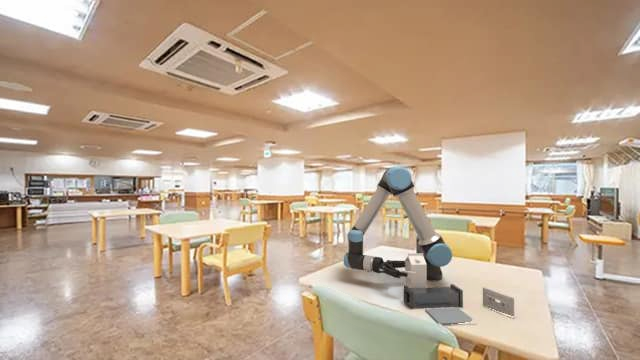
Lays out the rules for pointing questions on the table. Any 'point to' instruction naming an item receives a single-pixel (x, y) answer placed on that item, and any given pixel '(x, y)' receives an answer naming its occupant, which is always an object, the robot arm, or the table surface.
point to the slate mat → (449, 316)
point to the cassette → (504, 305)
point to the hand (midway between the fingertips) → (418, 271)
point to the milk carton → (416, 270)
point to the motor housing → (433, 297)
